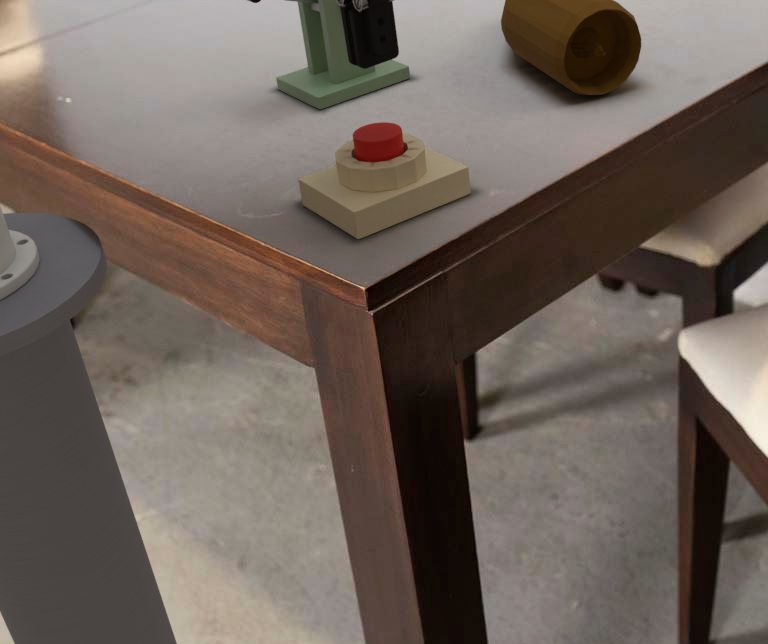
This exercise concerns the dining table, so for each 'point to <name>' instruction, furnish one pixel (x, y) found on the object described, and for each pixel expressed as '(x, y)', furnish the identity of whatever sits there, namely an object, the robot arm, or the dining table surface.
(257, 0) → the lever
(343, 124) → the dining table surface
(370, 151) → the light button
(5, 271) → the robot arm
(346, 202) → the switch block
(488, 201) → the dining table surface
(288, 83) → the mains bracket
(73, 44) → the dining table surface
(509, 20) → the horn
